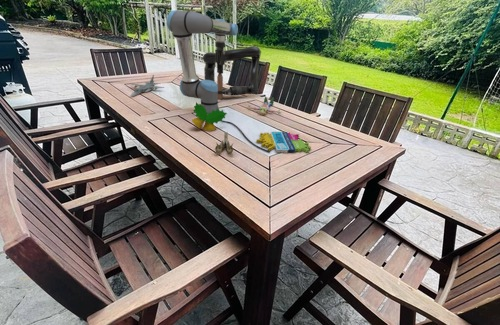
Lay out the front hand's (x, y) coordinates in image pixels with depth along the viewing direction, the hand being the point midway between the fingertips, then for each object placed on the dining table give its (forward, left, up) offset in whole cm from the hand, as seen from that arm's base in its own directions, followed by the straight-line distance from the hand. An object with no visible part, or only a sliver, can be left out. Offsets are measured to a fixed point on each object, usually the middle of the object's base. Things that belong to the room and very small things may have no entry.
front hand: (220, 72), depth 214 cm
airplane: (+26, +61, -22) cm, 70 cm away
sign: (-93, -20, -22) cm, 98 cm away
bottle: (0, 0, -22) cm, 22 cm away
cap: (0, 0, +2) cm, 2 cm away
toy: (-33, -31, -22) cm, 50 cm away
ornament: (-66, +18, -22) cm, 72 cm away
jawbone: (-99, +15, -22) cm, 102 cm away
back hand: (0, +3, -15) cm, 16 cm away
